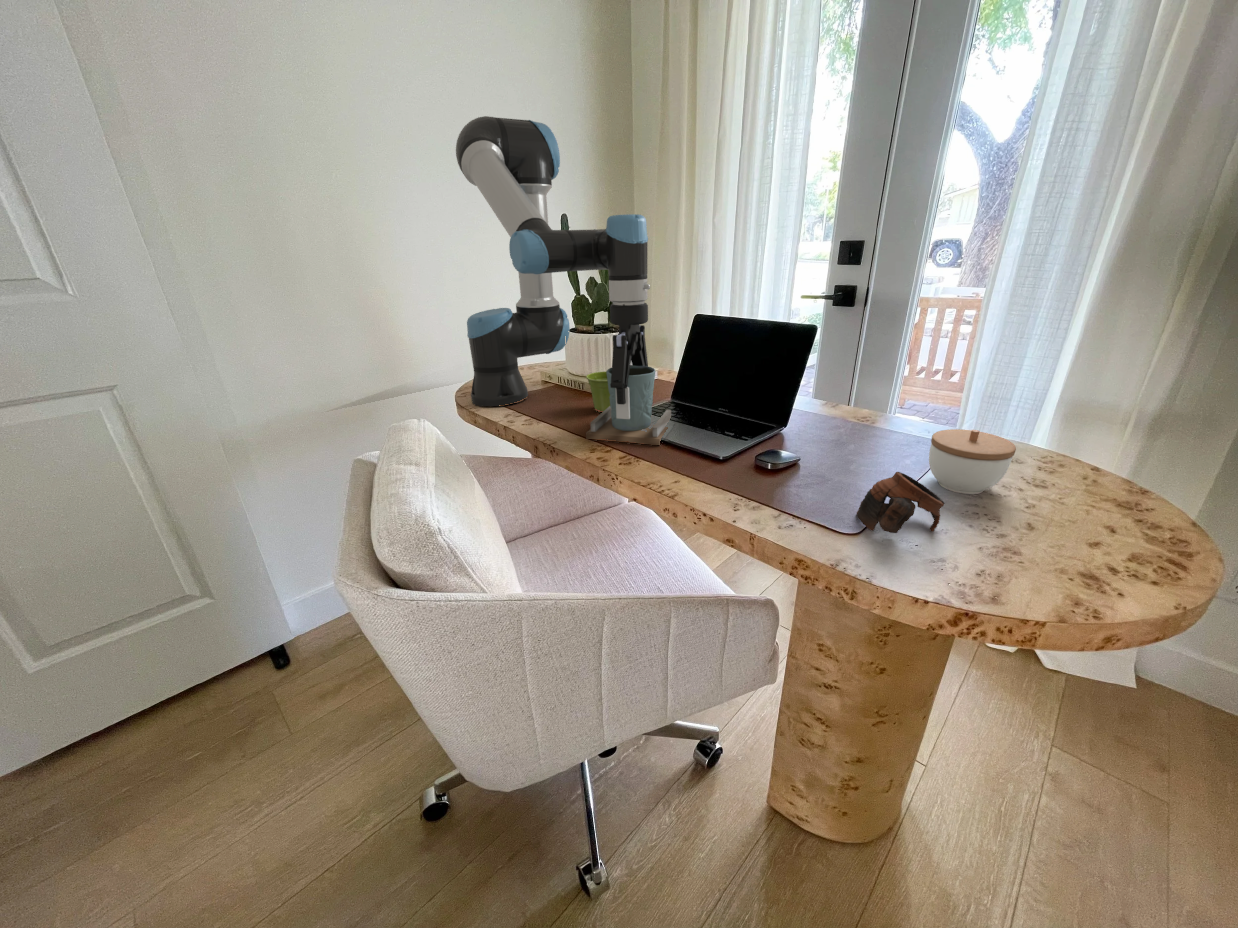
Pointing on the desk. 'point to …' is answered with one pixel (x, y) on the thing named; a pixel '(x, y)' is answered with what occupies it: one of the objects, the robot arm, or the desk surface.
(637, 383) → the blue ceramic cup
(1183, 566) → the desk surface
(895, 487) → the pottery mug
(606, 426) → the board
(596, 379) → the plant pot
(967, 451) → the lidded jar
